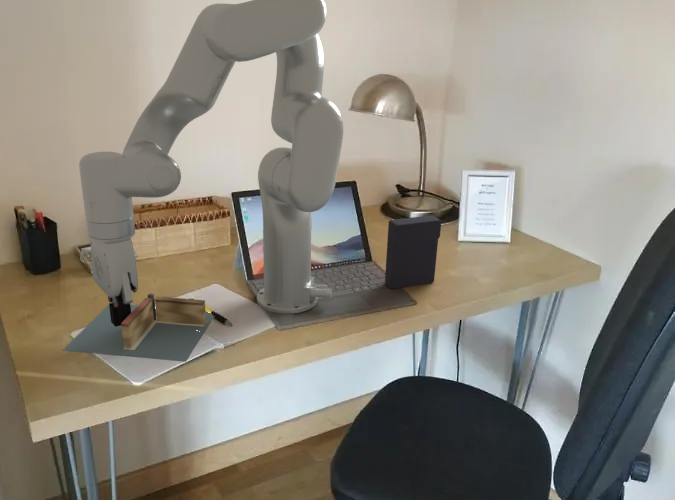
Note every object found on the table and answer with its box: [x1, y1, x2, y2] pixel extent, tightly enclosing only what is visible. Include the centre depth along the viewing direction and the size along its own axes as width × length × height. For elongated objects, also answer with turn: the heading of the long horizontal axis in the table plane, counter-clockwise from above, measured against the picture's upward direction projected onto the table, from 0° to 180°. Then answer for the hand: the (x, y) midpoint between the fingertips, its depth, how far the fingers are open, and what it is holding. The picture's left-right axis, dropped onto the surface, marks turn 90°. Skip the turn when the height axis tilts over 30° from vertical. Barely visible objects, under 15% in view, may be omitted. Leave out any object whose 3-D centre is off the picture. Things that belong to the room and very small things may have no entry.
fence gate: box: [121, 297, 154, 348], centre depth 111 cm, size 10×1×5 cm, turn 172°
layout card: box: [62, 304, 218, 362], centre depth 114 cm, size 22×18×1 cm
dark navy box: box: [384, 214, 442, 290], centre depth 134 cm, size 11×4×15 cm, turn 113°
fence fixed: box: [147, 293, 207, 325], centre depth 116 cm, size 11×1×5 cm, turn 83°
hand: (121, 322), depth 111 cm, fingers closed
